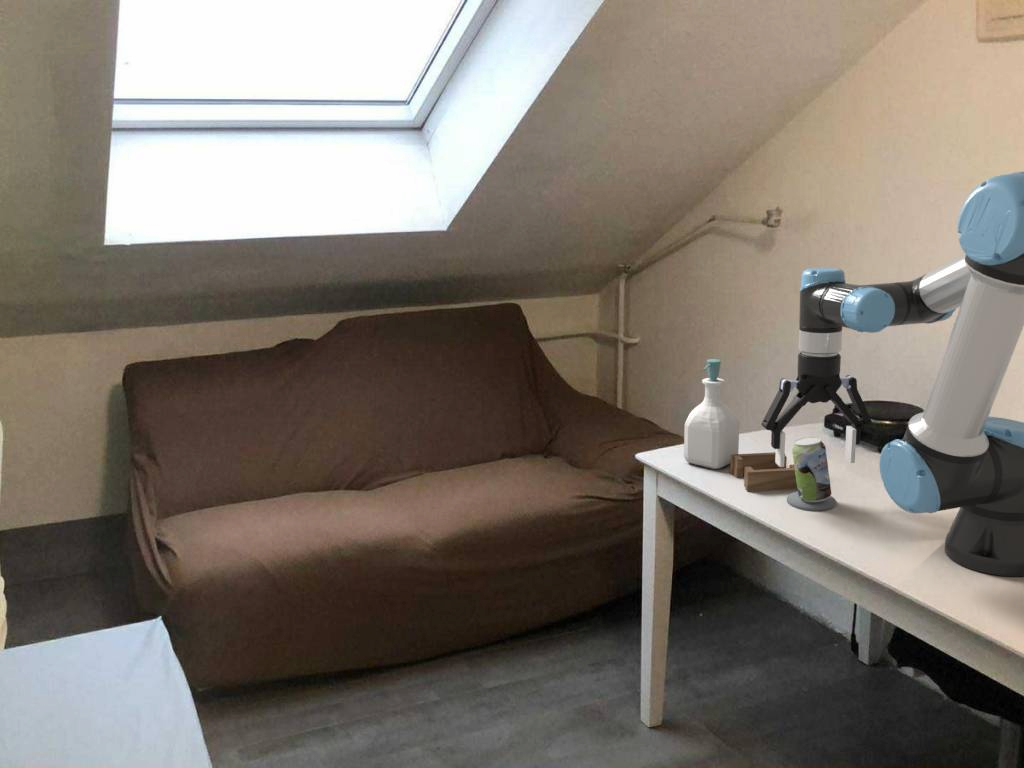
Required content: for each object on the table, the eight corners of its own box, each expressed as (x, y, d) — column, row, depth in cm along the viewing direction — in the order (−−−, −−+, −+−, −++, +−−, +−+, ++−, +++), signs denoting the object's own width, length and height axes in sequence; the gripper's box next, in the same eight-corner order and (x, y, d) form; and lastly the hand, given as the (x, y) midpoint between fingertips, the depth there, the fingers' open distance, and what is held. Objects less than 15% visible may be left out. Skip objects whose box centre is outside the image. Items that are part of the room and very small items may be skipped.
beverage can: (832, 506, 179) (835, 445, 177) (791, 504, 181) (793, 443, 178) (829, 494, 185) (832, 435, 182) (789, 492, 187) (791, 434, 184)
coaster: (843, 509, 180) (843, 506, 179) (796, 512, 179) (797, 509, 179) (824, 492, 188) (824, 489, 188) (779, 495, 188) (780, 492, 187)
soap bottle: (679, 463, 207) (681, 360, 202) (703, 452, 214) (705, 352, 209) (719, 472, 201) (722, 367, 195) (742, 461, 208) (745, 358, 202)
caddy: (802, 488, 191) (803, 469, 190) (747, 491, 190) (747, 472, 189) (782, 470, 202) (783, 451, 201) (730, 472, 201) (730, 454, 200)
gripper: (875, 345, 181) (869, 453, 186) (746, 351, 179) (743, 460, 184) (894, 353, 174) (887, 465, 178) (760, 359, 172) (756, 472, 177)
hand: (814, 463), depth 181 cm, fingers open, 13 cm apart
